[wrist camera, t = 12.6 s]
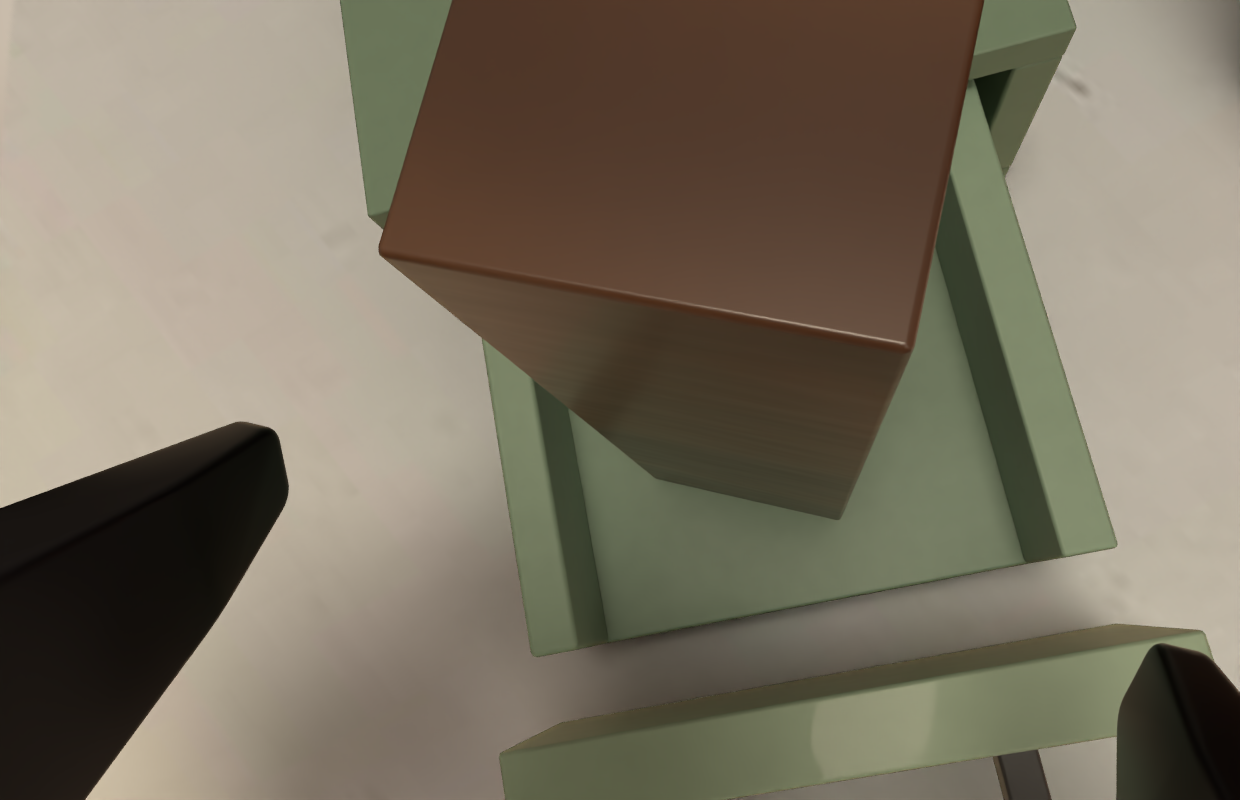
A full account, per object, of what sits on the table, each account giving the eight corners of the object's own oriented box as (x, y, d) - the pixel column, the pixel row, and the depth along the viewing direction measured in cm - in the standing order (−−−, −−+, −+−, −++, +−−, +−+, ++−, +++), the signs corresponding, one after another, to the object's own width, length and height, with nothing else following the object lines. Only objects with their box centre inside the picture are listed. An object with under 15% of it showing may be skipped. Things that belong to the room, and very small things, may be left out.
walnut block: (840, 520, 17) (915, 354, 5) (652, 478, 18) (372, 253, 6) (878, 336, 18) (1019, -172, 6) (695, 302, 18) (508, -202, 7)
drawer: (1219, 955, 16) (1346, 1064, 12) (608, 1034, 17) (554, 1152, 13) (889, -132, 21) (907, -289, 17) (443, 1, 22) (371, -117, 18)
